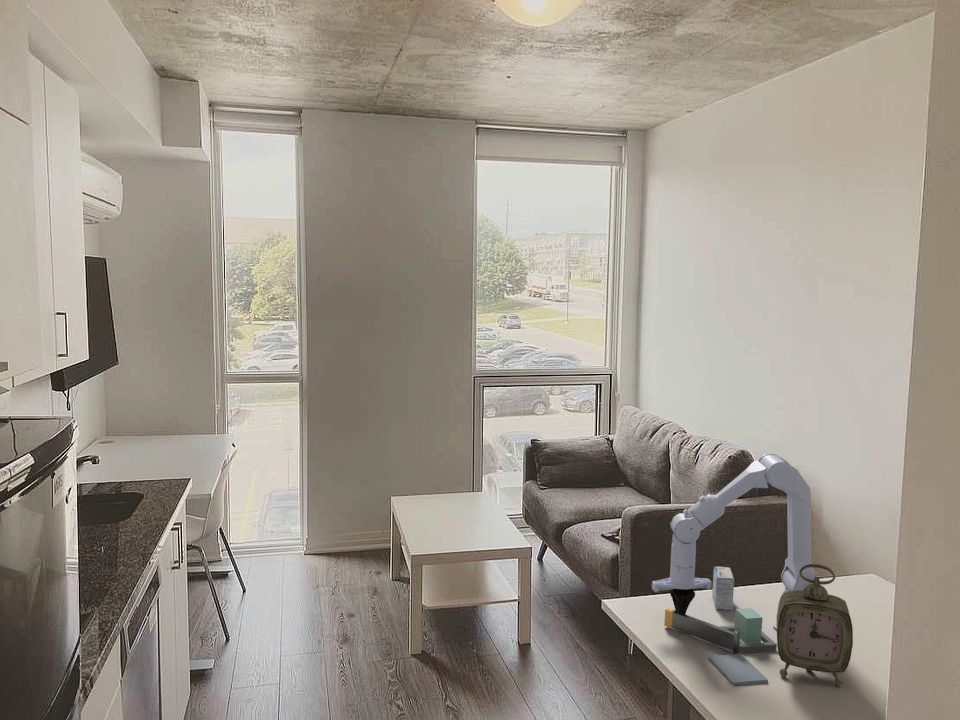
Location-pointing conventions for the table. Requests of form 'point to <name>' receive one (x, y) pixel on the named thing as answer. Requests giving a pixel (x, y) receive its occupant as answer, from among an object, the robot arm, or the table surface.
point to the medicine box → (723, 588)
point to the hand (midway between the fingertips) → (679, 617)
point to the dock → (755, 647)
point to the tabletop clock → (814, 628)
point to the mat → (737, 669)
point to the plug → (748, 625)
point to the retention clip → (703, 630)
